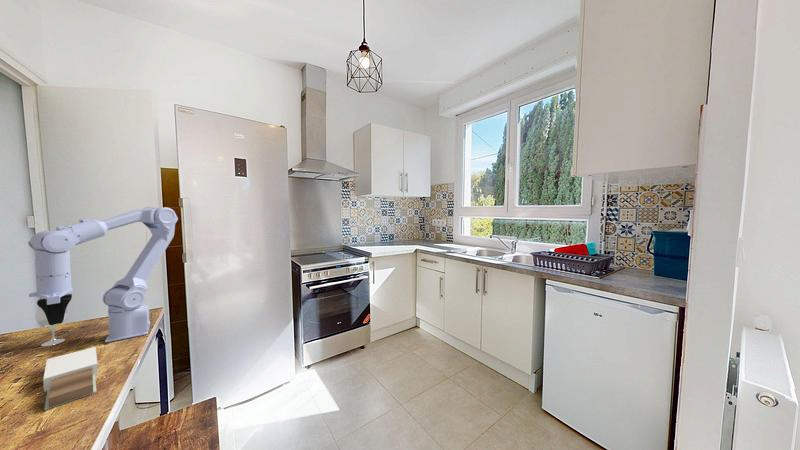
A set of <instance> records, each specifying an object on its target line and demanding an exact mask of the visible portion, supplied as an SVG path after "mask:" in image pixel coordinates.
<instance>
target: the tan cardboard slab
mask: <svg viewBox="0 0 800 450" xmlns="http://www.w3.org/2000/svg"><path fill="white" fill-rule="evenodd" d="M91 393H93V374H92V368H91V369H88V370H84V371H81V372H78V373H74V374H71V375H67V376H64V377H60V378H57V379H54V380H51V386H50V392H49V398H48V403H49V408H50V407H53V406H56V405H58V406H60V405H59V404H61V405H63V404H62V403H64V404H66V403H65V402H67V403H69V402H68V401H70V402H72V401H71V400H73V401H75V400H74V399H76V400H78V399H77V398H79V397H82V396H85V395H87V396H89V395H88V394H90V395H92V394H91ZM93 394H94V393H93ZM85 397H86V396H85ZM82 398H83V397H82ZM79 399H80V398H79ZM56 407H57V406H56ZM53 408H54V407H53ZM50 409H51V408H50Z"/></svg>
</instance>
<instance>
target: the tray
mask: <svg viewBox="0 0 800 450" xmlns="http://www.w3.org/2000/svg"><path fill="white" fill-rule="evenodd" d="M98 364H99V363H98V356H97V349H96V346H93V347H90V348H86V349H83V350H78V351H74V352H70V353H66V354H63V355H59V356H54V357H50V358H47V359H46V363H45V368H44V374H43V379H42V381H43V392H47V390H48V389H50V386H51V380H54V379H57V378H60V377H64V376H67V375H71V374H74V373H78V372H81V371H84V370H88V369H91V368H92V374H93V375H95V377H96V376H99V369H98Z"/></svg>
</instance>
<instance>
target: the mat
mask: <svg viewBox="0 0 800 450" xmlns="http://www.w3.org/2000/svg"><path fill="white" fill-rule="evenodd" d="M96 383H97V382H96V376H95V375H93V393H91V394H88V395H85V396H82V397H79V398H77V399H74V400H71V401H68V402H65V403H62V404H59V405H56V406H53V408H55V407H58V406H61V405H64V404H66V403H70V402H73V401H75V400H78V399H81V398H85V397H87V396H90V395H93V394H96V393H97V384H96ZM49 392H50V389H48V390H47V391H46V397H45V401H44V402H45V403H44V408H43V409H44V411H47V410H49V409H52V407H50V408H49V403H48V398H49Z"/></svg>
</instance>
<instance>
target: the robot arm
mask: <svg viewBox="0 0 800 450" xmlns="http://www.w3.org/2000/svg"><path fill="white" fill-rule="evenodd" d="M78 221H79V222H76V223H72V224H69V225H65V226H63V225H58V226H56V227H55V230H41V231H38V232H36V233H35V234H34V235H32V236H31V238H30V240H29V241H28V242H27V244H28V246H29V247H30V248H31V250H34V258H35V259H34V262H35V263H34V264H35V265H34V266H35V280H36V281H35V284H36V287H35V288H36V292H30V293H28V297H29V298H35V297H37V298H40V299H38V300H37V302H36V304H37V306H38V307H40V308H41V309H42V310H43V311H44V313H45V315H46V318H47V320H48V323H49V325H50V326H51V325H54V326H56V325H60V324H63V322H64V321H65V320H64V315H65V311H66V308H67V307H68V305H69V304H70V302H71V300H72V299H73V296H72V292H74V288H73V287H72V268H71V251H70V250H73V248H74V247H75V246H78V245H81V244H83V243H87V242H90V241H93V240H96V239H100V238H102V237H104V236H106V234H107V232H108V231H110V230H114V229H117V228H121V227H124V226H128V225H131V224H134V223H135V224H136V223H142V224H143V225H144V226H145V227H146V228H148V230H149V232H150V233H151V237H150V239H149V240H148V242H147V243H146V245H145V246H144V247H143V249H142V251H141V252H140V253H139V255H138V257H137V258H136V259H135V261H134V263H133V264H132V266H131V267H130V268H129V270H128V272H127V273H126V275H125V276H124V277H123V278H121V279H119V280H117V281H116V282H115V283H114V285H112V287H110V288H109V289H108V290H107V291H105V292H104V294H103V296H102V302H103V304H105V306H107V307H108V308H107V311H108V312H107V314H108V315H107V317H108V318H107V319H108V335H107V337H106V338H105V341H104V343H110V342H111V343H112V342H115V341H116V342H117V341H120V340H126V339H130V338H135V337H139V336H144V335H147V334H148V333H149V331H150V326H151V321H150V305H148V304H145V305H143V303H144V301H145V299H146V292H147V291H148V289H149V288H148V284H147V280H149V279H148V278H149V277H150V276H151V274H152V272H153V270H154V269H155V268H156V266H157V264H158V262H159V261H160V259H161V258H162V257H163V255H164V253H165V251H166V250H167V248H168V246H169V245H170V244H171V242H172V240H173V239H174V236H175V230H176V223H177V222H178V221H179V218H178V215H177V214H176V212H175V210H174V209H172V208H170V207H166V206H165V207H154V206H153V207H151V206H146V207H143V208H136V209H134V210H133V209H132V210H130V211H127V212H126V211H125V212H123V213H121V214H117V215H115V216H114V215H113V216H111V217H109V218H105V219H102V220H97V219H94V218H91V219H88V218H83V219H78Z"/></svg>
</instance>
